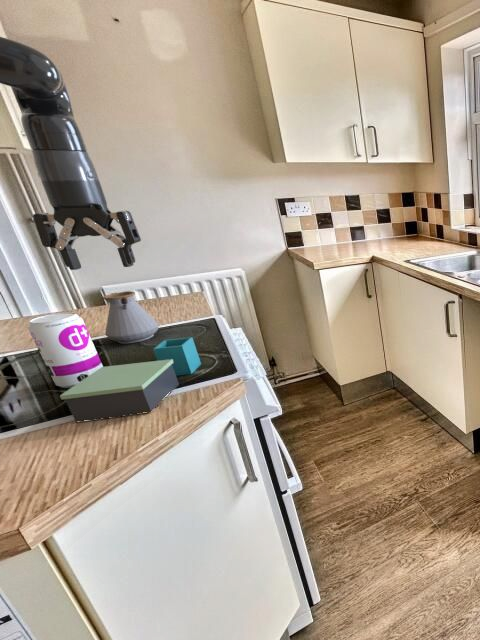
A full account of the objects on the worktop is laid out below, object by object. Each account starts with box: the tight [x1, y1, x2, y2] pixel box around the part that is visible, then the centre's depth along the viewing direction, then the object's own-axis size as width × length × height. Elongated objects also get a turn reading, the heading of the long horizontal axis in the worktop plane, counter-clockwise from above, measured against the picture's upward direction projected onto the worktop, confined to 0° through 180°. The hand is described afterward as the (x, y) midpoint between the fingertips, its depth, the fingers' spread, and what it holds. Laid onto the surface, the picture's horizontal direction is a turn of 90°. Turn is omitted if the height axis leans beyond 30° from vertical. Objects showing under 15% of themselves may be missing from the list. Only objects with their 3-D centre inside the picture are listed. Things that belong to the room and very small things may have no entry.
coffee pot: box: [101, 291, 160, 345], centre depth 113 cm, size 21×12×15 cm, turn 46°
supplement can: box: [28, 311, 104, 389], centre depth 92 cm, size 8×8×15 cm
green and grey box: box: [59, 359, 180, 423], centre depth 84 cm, size 13×13×6 cm
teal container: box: [152, 336, 202, 377], centre depth 97 cm, size 6×6×7 cm
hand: (102, 267), depth 82 cm, fingers open, 8 cm apart
